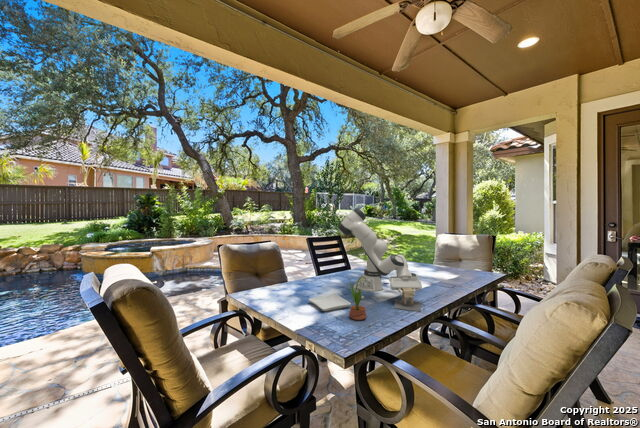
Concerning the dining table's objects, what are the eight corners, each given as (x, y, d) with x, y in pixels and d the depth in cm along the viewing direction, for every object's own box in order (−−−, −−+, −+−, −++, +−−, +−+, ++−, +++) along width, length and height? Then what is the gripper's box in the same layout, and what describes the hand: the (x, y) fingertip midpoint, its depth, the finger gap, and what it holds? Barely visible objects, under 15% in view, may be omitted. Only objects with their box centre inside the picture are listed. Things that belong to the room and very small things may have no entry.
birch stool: (401, 301, 186) (401, 287, 186) (410, 301, 187) (411, 287, 186) (404, 304, 180) (404, 290, 180) (414, 304, 180) (414, 290, 180)
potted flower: (371, 316, 166) (371, 273, 165) (368, 322, 156) (369, 278, 155) (351, 313, 170) (351, 272, 169) (347, 319, 160) (347, 275, 159)
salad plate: (322, 314, 169) (323, 308, 169) (307, 303, 187) (307, 298, 187) (352, 308, 179) (352, 303, 179) (334, 298, 197) (335, 293, 197)
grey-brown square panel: (393, 308, 178) (394, 307, 178) (395, 300, 193) (395, 299, 193) (420, 312, 173) (420, 311, 173) (420, 303, 188) (420, 302, 188)
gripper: (389, 274, 190) (392, 293, 180) (419, 274, 190) (424, 293, 180) (387, 278, 194) (390, 297, 185) (417, 279, 194) (422, 298, 185)
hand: (408, 295), depth 183 cm, fingers closed on birch stool, 6 cm apart
